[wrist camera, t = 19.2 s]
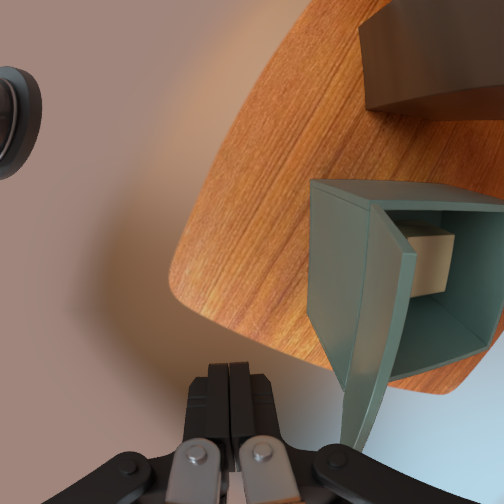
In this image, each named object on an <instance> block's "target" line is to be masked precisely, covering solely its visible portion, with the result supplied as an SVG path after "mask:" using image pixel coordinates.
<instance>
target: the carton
mask: <svg viewBox="0 0 504 504" xmlns="http://www.w3.org/2000/svg"><path fill="white" fill-rule="evenodd" d="M371 204H379V205H380V206H381V208H382V209H383V210H384V211H385V213H386V214H387V215H388V216H389V218H390V219H391V220H392V221H400V220H423V221H425V222H428V223H430V224H432V225H434V226H437V227H439V228H441V229H443V230H446V231H448V232H450V233H452V234H454V235H455V238H454V244H453V251H452V257H451V263H450V268H449V273H448V278H447V283H446V288H445V291H444V292H438V293H433V294H427V295H421V296H415V297H410V300H409V305H408V310H407V315H406V319H405V323H404V328H403V332H402V336H401V340H400V343H399V347H398V351H397V355H396V358H395V362H394V365H393V368H392V372H391V375H390V378H389V381H388V382H392V381H395V380H399V379H403V378H407V377H410V376H414V375H417V374H420V373H424V372H427V371H430V370H433V369H436V368H439V367H443V366H445V365H448V364H451V363H454V362H457V361H460V360H462V359H465V358H468V357H470V356H473V355H476V354H478V353H481V352H483V351H486V350H488V349H489V347H490V344H491V342H492V339H493V337H494V334H495V331H496V329H497V326H498V323H499V320H500V317H501V314H502V311H503V308H504V200H502V199H499V198H496V197H492V196H489V195H485V194H481V193H478V192H474V191H470V190H466V189H462V188H458V187H454V186H450V185H446V184H438V183H424V182H407V181H387V180H356V179H310V240H309V272H308V295H307V315H308V317H309V319H310V321H311V324H312V326H313V328H314V330H315V332H316V334H317V336H318V338H319V340H320V342H321V345H322V347H323V349H324V351H325V353H326V355H327V357H328V359H329V362H330V364H331V366H332V368H333V370H334V372H335V374H336V376H337V379H338V381H339V383H340V385H341V387H342V390H343V392H345V390H346V386H347V381H348V376H349V372H350V367H351V362H352V357H353V351H354V346H355V340H356V335H357V329H358V322H359V316H360V309H361V302H362V295H363V287H364V278H365V269H366V260H367V249H368V237H369V223H370V205H371Z"/></svg>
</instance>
